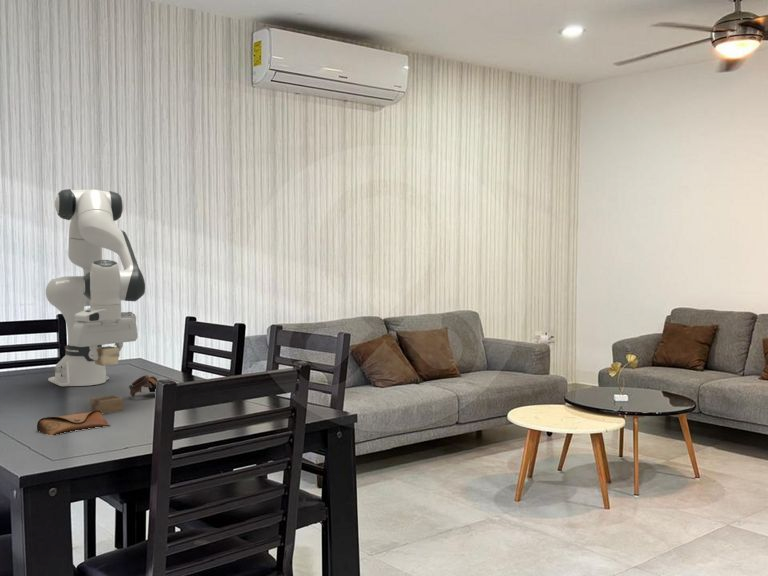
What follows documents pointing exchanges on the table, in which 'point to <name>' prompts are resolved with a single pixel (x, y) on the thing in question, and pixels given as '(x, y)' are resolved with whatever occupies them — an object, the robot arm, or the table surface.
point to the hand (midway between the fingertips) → (106, 358)
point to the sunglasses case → (71, 422)
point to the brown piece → (143, 384)
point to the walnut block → (107, 404)
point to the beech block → (108, 355)
